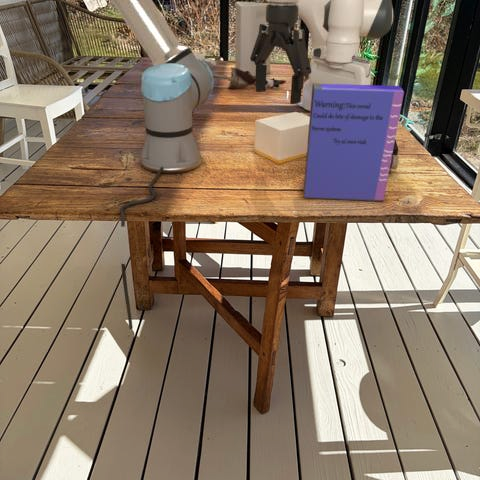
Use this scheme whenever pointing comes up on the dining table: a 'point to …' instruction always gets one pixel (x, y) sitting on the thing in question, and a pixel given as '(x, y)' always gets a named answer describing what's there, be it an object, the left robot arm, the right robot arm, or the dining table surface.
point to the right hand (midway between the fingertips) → (335, 105)
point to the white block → (248, 34)
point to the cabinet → (282, 137)
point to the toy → (202, 58)
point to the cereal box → (351, 141)
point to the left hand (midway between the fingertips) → (277, 97)
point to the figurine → (246, 79)
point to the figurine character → (394, 157)
